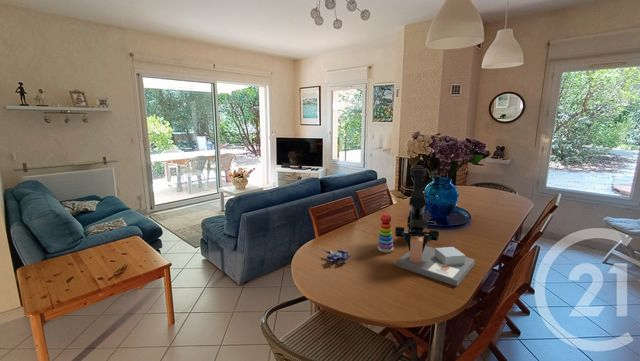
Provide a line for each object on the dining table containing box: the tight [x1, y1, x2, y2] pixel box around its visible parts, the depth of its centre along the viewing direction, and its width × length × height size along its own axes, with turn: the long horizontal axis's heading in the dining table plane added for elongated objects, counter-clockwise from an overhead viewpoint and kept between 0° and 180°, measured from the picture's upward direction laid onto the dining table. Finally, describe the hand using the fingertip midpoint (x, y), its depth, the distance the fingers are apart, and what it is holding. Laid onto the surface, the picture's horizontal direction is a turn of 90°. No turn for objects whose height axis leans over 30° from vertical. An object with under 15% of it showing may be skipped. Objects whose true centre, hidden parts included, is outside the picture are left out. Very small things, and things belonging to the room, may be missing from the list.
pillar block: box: [410, 236, 424, 263], centre depth 134 cm, size 5×5×11 cm
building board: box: [395, 245, 476, 287], centre depth 134 cm, size 26×24×3 cm
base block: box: [434, 246, 466, 265], centre depth 134 cm, size 9×9×4 cm
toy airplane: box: [320, 249, 351, 265], centre depth 140 cm, size 13×14×4 cm
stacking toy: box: [376, 213, 395, 254], centre depth 149 cm, size 8×8×19 cm
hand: (416, 251), depth 133 cm, fingers closed on pillar block, 5 cm apart
